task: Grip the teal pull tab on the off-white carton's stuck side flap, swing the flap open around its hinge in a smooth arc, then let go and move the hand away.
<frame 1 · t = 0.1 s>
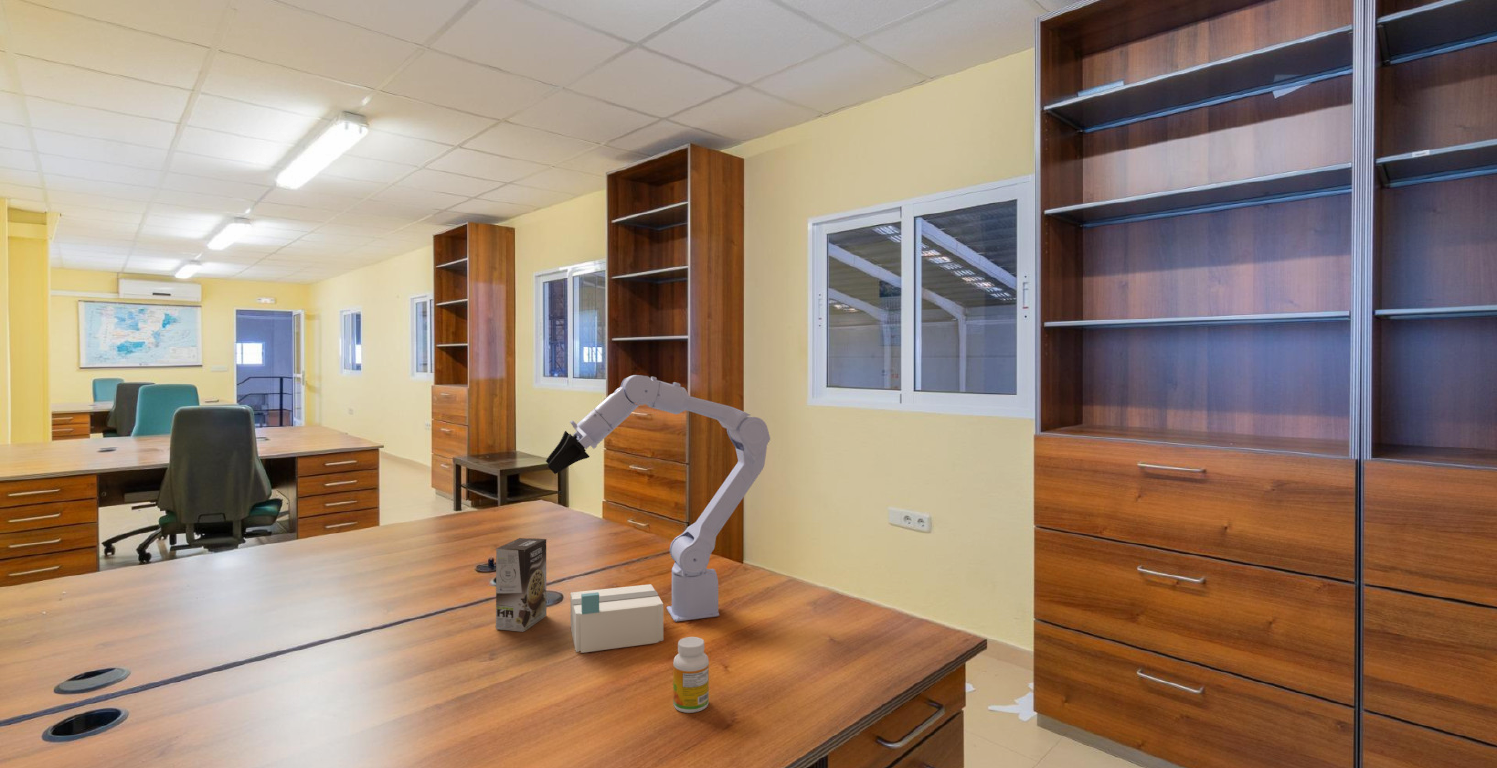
hand: (550, 467, 130), 32 cm above the table, tool tilted 50°, fingers open, 7 cm apart
carton: (615, 634, 129), on the table
supplement bottle: (690, 706, 102), on the table
coffee box: (522, 623, 135), on the table
carton flap: (619, 619, 123), point 5 cm above the table, hinge at 0.0°
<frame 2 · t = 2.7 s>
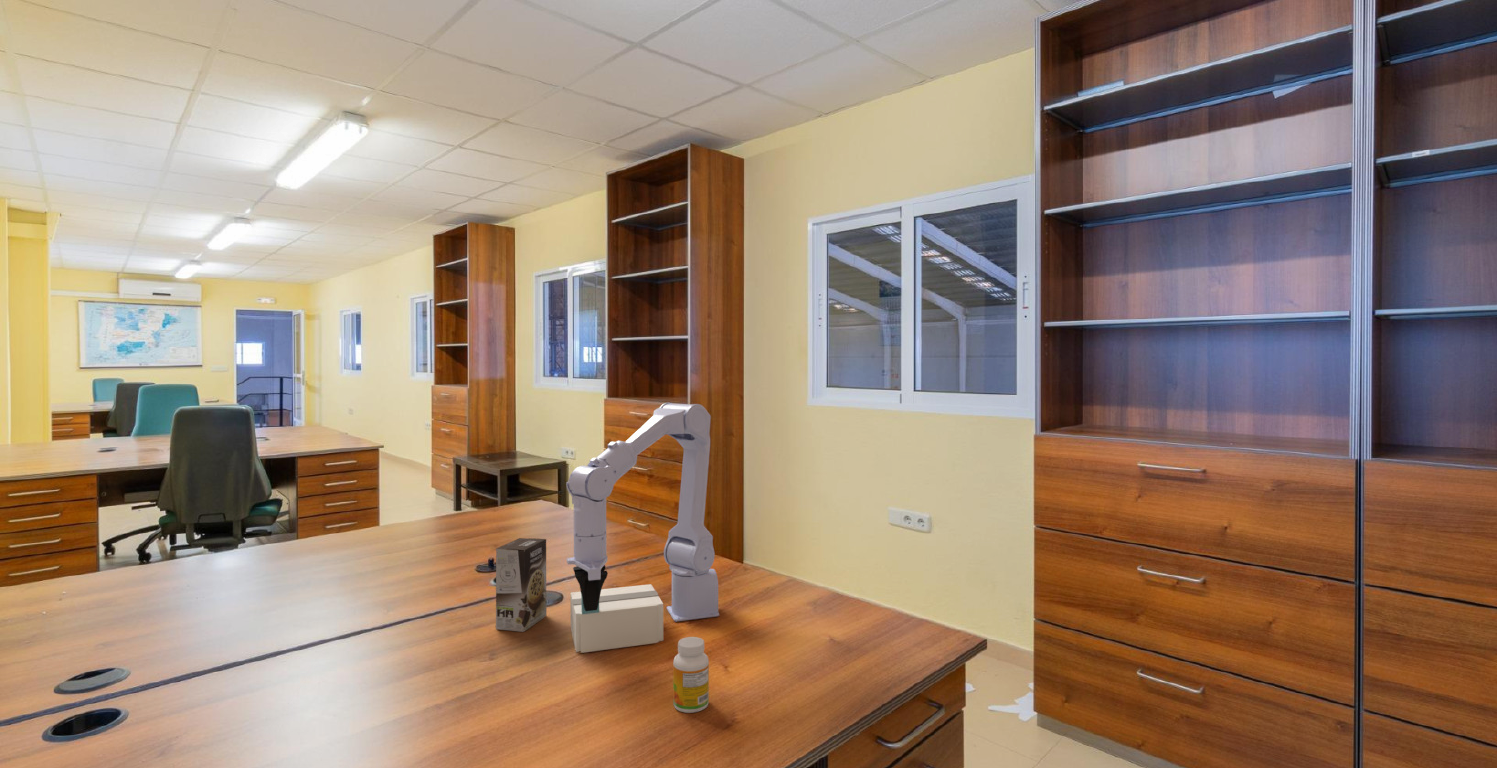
hand: (590, 608, 121), 8 cm above the table, tool pointing down, fingers closed on carton flap
carton flap: (619, 619, 123), point 5 cm above the table, hinge at 0.0°, touching gripper
everything else where it was.
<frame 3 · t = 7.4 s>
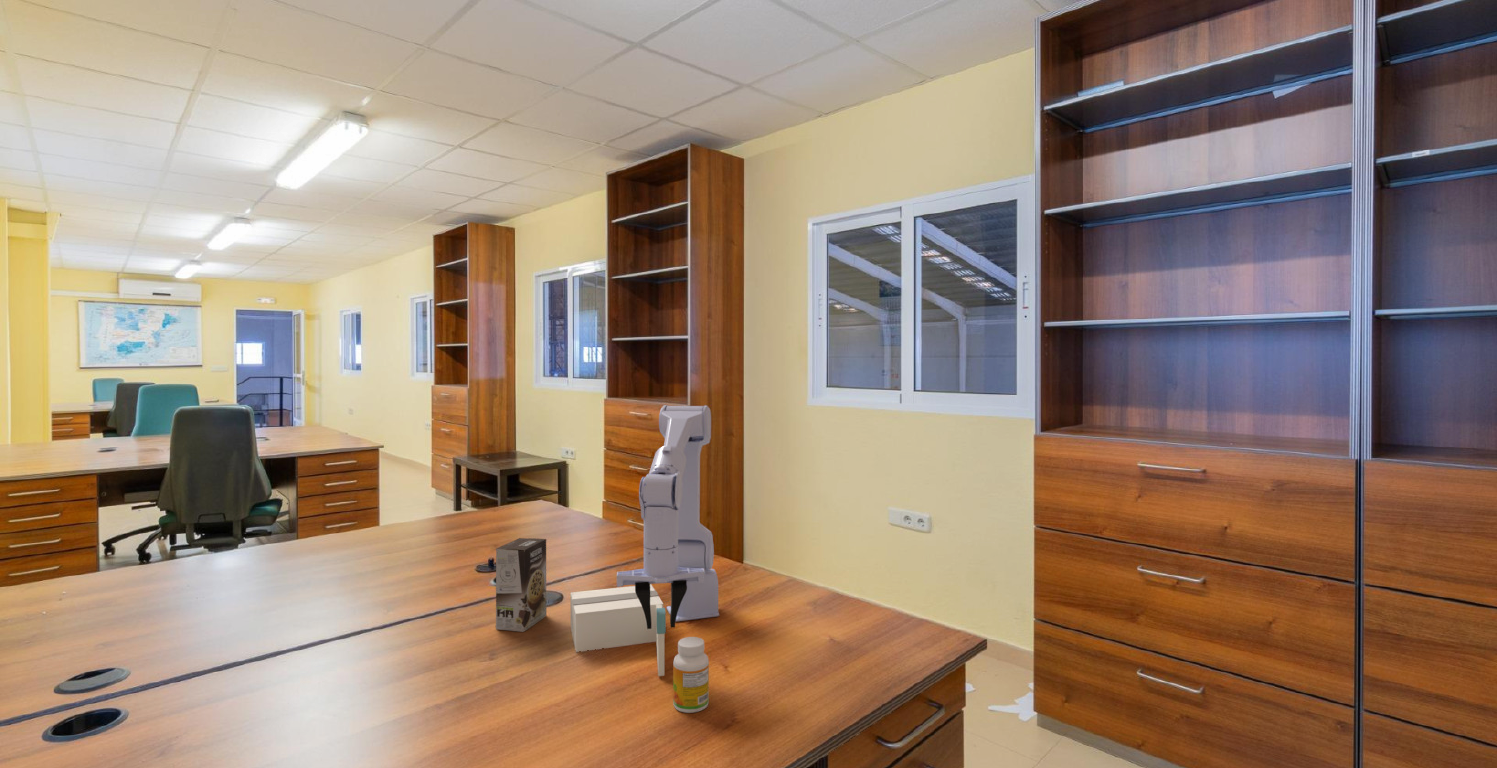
hand: (660, 626, 113), 8 cm above the table, tool pointing down, fingers open, 3 cm apart
carton flap: (660, 629, 118), point 5 cm above the table, hinge at 80.1°
everything else where it was.
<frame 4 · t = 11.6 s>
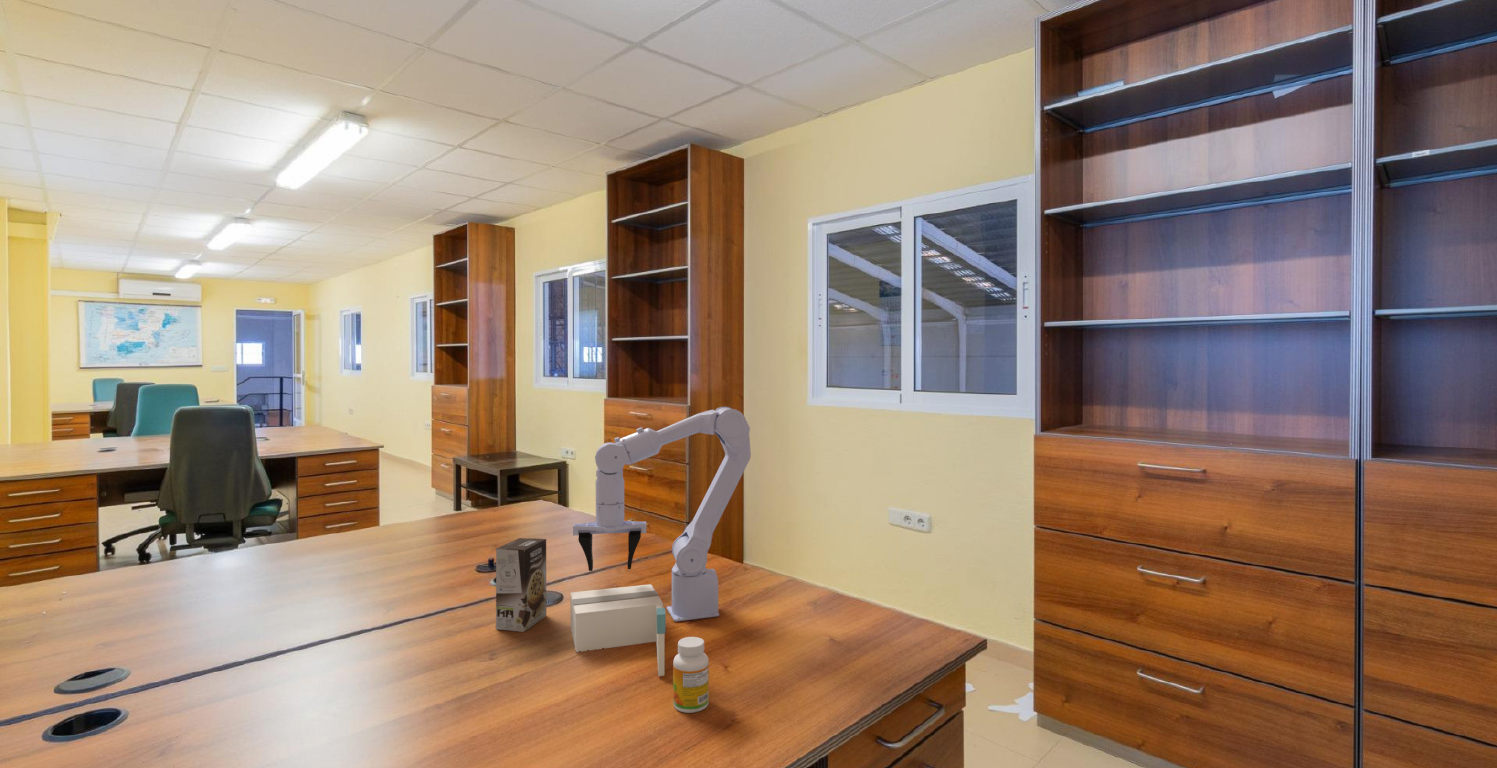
hand: (610, 568, 136), 10 cm above the table, tool pointing down, fingers open, 7 cm apart
nothing on the table moved.
at the end: carton flap at +80° (first picture: +0°); the gripper is holding nothing; coffee box moved 0.2 cm from its start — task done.
